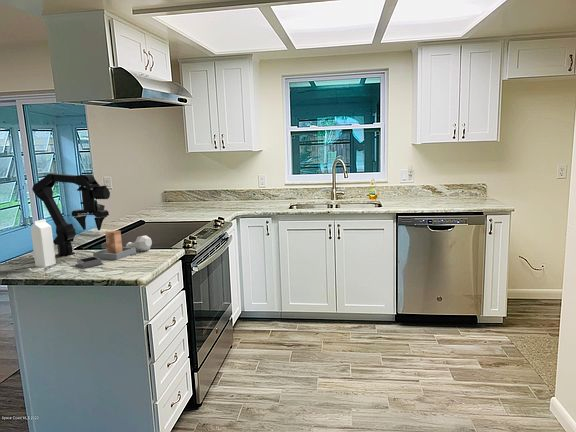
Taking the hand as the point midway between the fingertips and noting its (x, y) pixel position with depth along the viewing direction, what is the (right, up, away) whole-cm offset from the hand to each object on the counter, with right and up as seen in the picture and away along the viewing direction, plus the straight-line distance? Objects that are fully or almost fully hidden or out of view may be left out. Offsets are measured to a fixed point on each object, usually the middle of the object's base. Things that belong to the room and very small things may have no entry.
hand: (91, 230), depth 218 cm
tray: (+13, -13, -3) cm, 19 cm away
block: (+13, -12, -4) cm, 18 cm away
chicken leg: (+20, -11, +11) cm, 25 cm away
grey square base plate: (+8, -16, -19) cm, 26 cm away
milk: (-14, -17, -17) cm, 27 cm away
